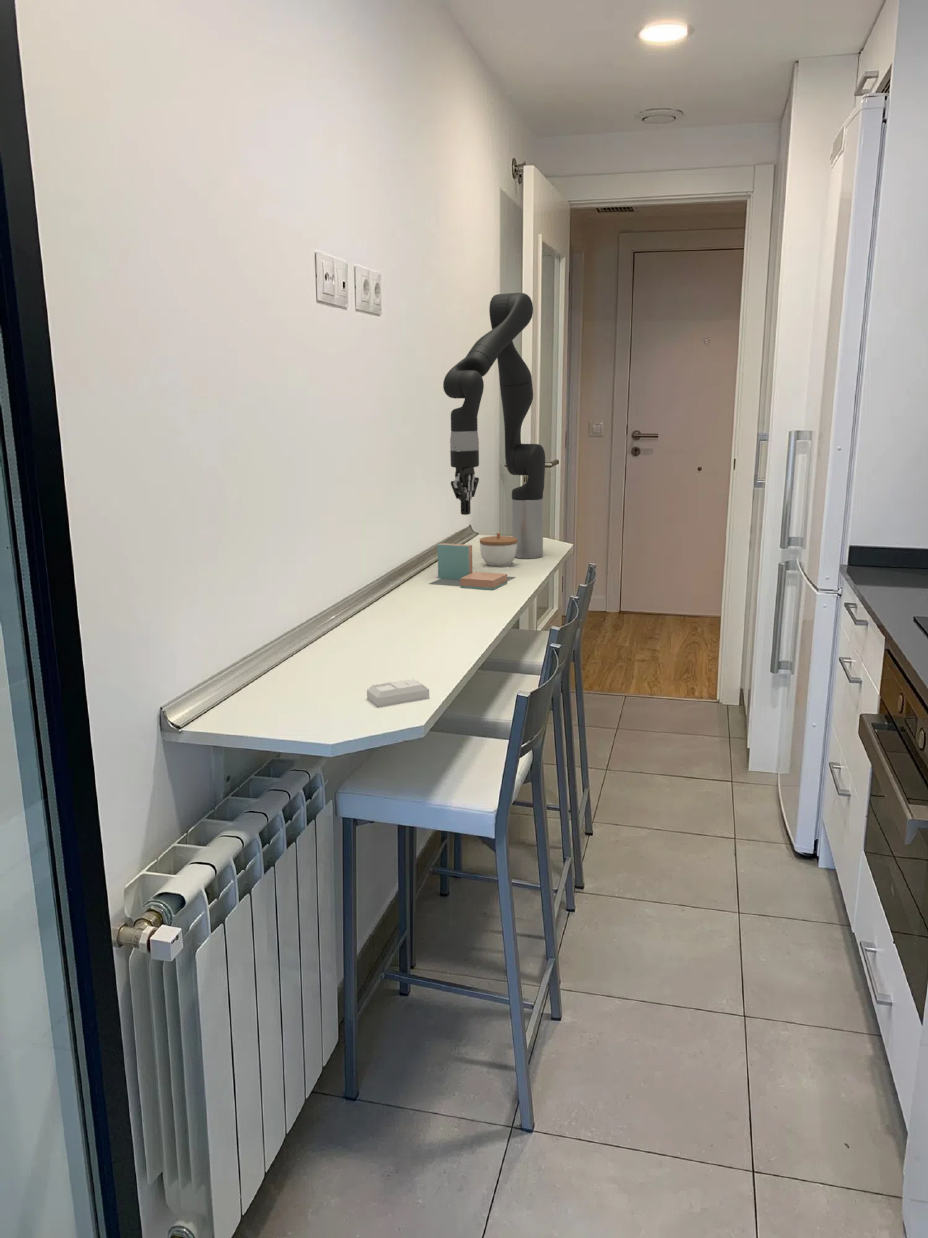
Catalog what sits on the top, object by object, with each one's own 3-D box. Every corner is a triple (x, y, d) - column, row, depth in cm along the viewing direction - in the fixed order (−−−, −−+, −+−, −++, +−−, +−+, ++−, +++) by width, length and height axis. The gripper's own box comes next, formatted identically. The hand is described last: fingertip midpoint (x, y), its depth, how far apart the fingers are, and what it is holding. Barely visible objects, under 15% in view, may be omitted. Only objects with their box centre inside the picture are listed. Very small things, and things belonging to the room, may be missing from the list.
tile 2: (475, 571, 246) (460, 578, 238) (507, 574, 242) (492, 580, 234) (475, 580, 246) (460, 587, 239) (507, 583, 243) (493, 590, 235)
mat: (455, 574, 258) (455, 572, 258) (516, 578, 250) (516, 577, 250) (427, 585, 244) (427, 583, 244) (491, 590, 236) (491, 588, 236)
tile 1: (442, 576, 253) (441, 543, 251) (472, 578, 249) (472, 544, 247) (438, 578, 251) (437, 544, 249) (468, 580, 247) (468, 546, 245)
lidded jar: (518, 568, 264) (518, 535, 262) (479, 569, 264) (479, 536, 262) (516, 562, 275) (516, 530, 272) (480, 562, 275) (479, 530, 273)
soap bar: (429, 700, 155) (429, 684, 154) (378, 709, 151) (377, 693, 150) (417, 692, 159) (416, 677, 159) (367, 700, 155) (366, 685, 155)
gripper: (462, 447, 256) (463, 511, 260) (440, 450, 244) (441, 516, 248) (487, 447, 253) (488, 512, 257) (466, 450, 241) (467, 517, 245)
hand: (465, 514), depth 253 cm, fingers closed
